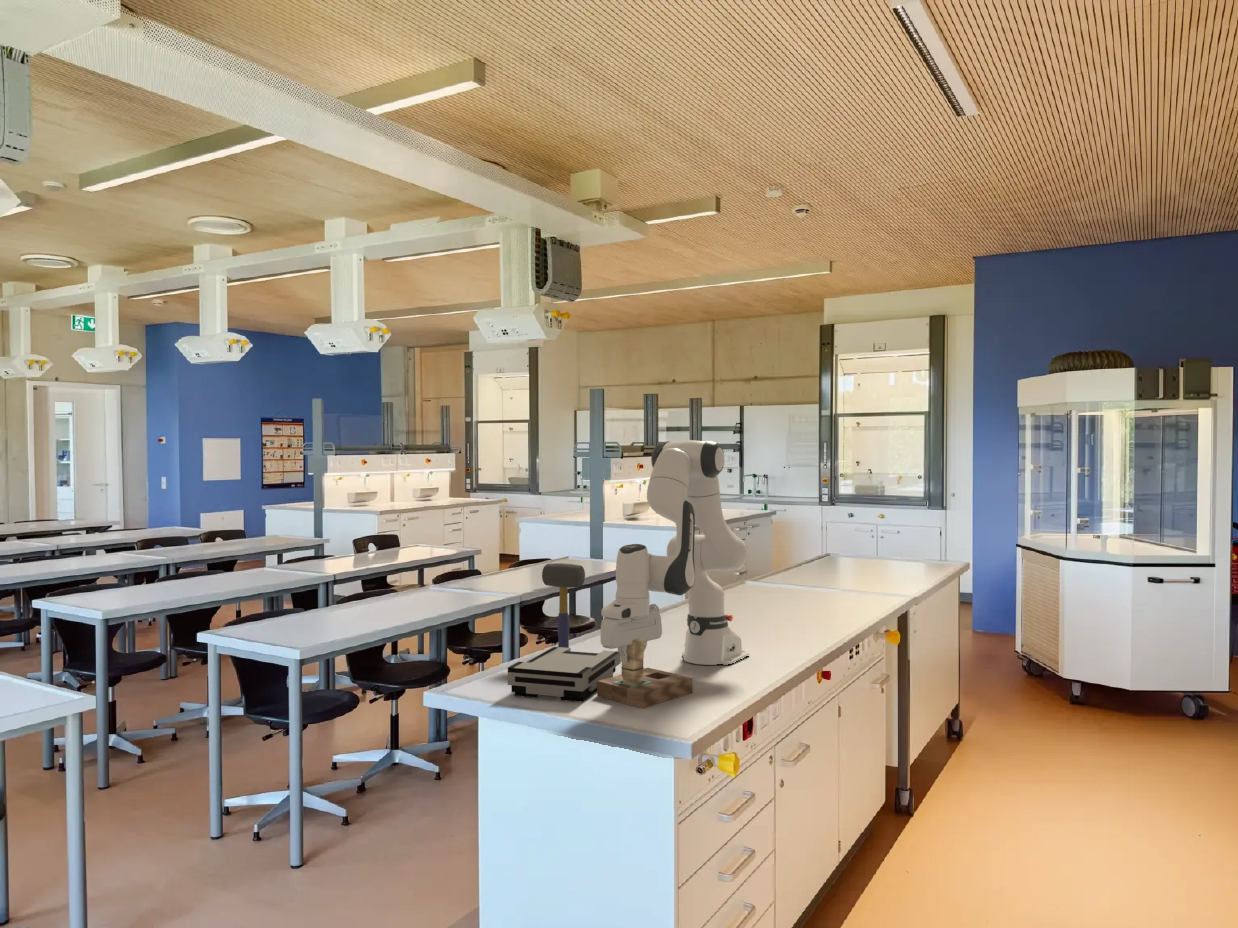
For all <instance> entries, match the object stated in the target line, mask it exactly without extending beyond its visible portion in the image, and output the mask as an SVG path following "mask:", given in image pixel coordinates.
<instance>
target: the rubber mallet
mask: <svg viewBox="0 0 1238 928" xmlns="http://www.w3.org/2000/svg"><path fill="white" fill-rule="evenodd" d="M541 579H542V582H543V583H544V585H546V586H548V587H555V588H559V607H558V609H559V613H558V615H557V617H558V618H557V625H556V627H557V636H558V637H557V638H558V642H557V643H558V644H557V645H558V646H557V647H564V648H570V647H569V646H570V645H569V638H570V637H569V635H570V630H571V629H570V615H569V612H568V609H569V608H568V603H569V602H568V588H580V587H581V588H582V586H583V585H584V583H585V579H586V572H585V569H584V566H582V565H581V564H580V565H579V564H573V563H559V562H558V563H547V564H545V565H544V566H543V568H542V571H541Z"/></svg>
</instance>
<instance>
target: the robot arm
mask: <svg viewBox="0 0 1238 928" xmlns="http://www.w3.org/2000/svg"><path fill="white" fill-rule="evenodd" d="M650 460H651V461H650V462H651V466H652V471H651V473H650V476H649V481H648V485H647V490H646V500H647V502H648V506H649V507H650V509H652V510H653V511H654V512H655V513H657V514H658V515H659V516H661V517H662V518H665V519H666V520H669V521H671V522H673V523H675V526H676V535H675V536H673V537H671V539H670V540H669V541H668V544H667V546H666V556H665V555H655V554H651V553H650V552H649V551H648V547H647V546H646V545H644V544H642V543H641V544H639V543H631V544H625V545H623V546H621V547H620V548H619V549H618V551H617V556H616V565H615V583H616V593H615V600H613V601H612V602H610V603H609V604H607V605H606V606H604V607H603V608H602V609H601V610H600V611H601V612H600V613H601V617H604V618H603V619H602V620H601V623H600V644H601V645H602V647H603V648H604V649H605V648H606V649H610V650H614V649H617V651H619V653H620V655H621V664H622V663H627V662H629V661H630V656H629V655H627V653H626V650H627V645H632V640H635V639H640V638H643V659H644V658H645V656H644V653H645V651H646V648H647V647H648V641H649V642H651V641H654V640H658V639H660V638H661V637H662V634H663V626H662V624H663V623H662V617H661V613H660V608H659V606H658V605H657V604H656V603H651V604H650V592H655V593H657V592H658V593H667V594H669V595H670V594H671V595H674V596H675V595H676V596H683V595H685V594H686V593H687V594H688V595H687V596H688V597H687V598H688V614H687V618H686V622H687V626H688V628H687V629H686V631H685V637H684V651H682V654H681V657H683V660H684V662H687V663H690V664H694V665H704V666H706V665H707V666H712V665H713V666H718V665H717V664H723V666H729V665H728V664H732V663H734V662H735V661H738V660H740V659H741V658H743V657H746V656H747V655H749V656H750V653H749V652H748V651H745V650H743V649H742V648H743V647H742V638H741V637H740V635H738V634H737V633H736V632H735V631H733V629H731V627H729V623H728V621H729V622H732V621H733V619H734V616H733V614H725V591H724V589H723V587H722V586H721V585H720V584H718V583H717V582H715V581H713V580H712V579H711V578H710V576H709V574H708V571H713V572H714V571H718V572H730V571H737V570H741V569H742V568H743V567H744V566H745V564H746V563H747V559H748V555H749V552H748V548H747V547H748V546H747V545H746V543H745V542H744V540H743V539H742V538H741V537H738V536H737V534H735V533H734V532H733V531H732V530H731V528H730V527H729V525H728V523H727V521H726V520H725V517H724V515H723V510H722V509H723V507H722V501H721V491H720V490H721V489H720V481H719V474H720V473H721V472H722V471H723V468H724V466H725V452H724V449H723V447H722V446H721V445H720V444H719V443H718V442H716V441H711V440H706V441H703V440H694V439H687V440H678V441H676V440H675V441H663V442H662V441H661V442H659V443H657V445H656V446H655V447H654V448H653V450H652V452H651V458H650ZM696 527H697V528H698V529H700V530H701V532H702V533H703V534H696V533H695V532H696V530H695V529H696ZM740 661H741V660H740ZM738 662H739V661H738ZM734 664H735V663H734ZM732 665H733V664H732Z"/></svg>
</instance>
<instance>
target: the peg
mask: <svg viewBox="0 0 1238 928" xmlns="http://www.w3.org/2000/svg"><path fill="white" fill-rule="evenodd" d="M626 653H627V655H629V656H630V661H629V662H627V663H622V662H621V675H622V677H623V684H627V685H631V686H635V685H638V684H642V677H643V669H644V658H643V638H640V639H635V640H632V645H627V650H626Z"/></svg>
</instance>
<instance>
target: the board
mask: <svg viewBox="0 0 1238 928" xmlns="http://www.w3.org/2000/svg"><path fill="white" fill-rule="evenodd" d="M693 682H694V679H693V677H691V676H687V675H684V674H678V673H673V672H669V671H666V670H665V671H664V670H660V669H656V668H650V667H645V668H644V669H643V677H642V684H638V685H635V686H631V685H627V684H623V677H622V674H617V675H613V677H610V678H606V679H603V680H599V681H597V691H596V692H597V693H596V694H597V695H596V696H597V697H599V698H603V699H607V700H609V701H613V702H617V703H622V704H624V705H629V706H632V707H636V708H639V709H645V708H648V707H651V706H654V705H658V704H660V703H664V702H668V701H670V700H674V699H677V698H680V697H683V695H684V696H687V695H689V694H692V693H694V692H693V691H694V690H693V689H694V688H693V687H694V686H693ZM686 694H687V695H686ZM673 698H674V699H673Z"/></svg>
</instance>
